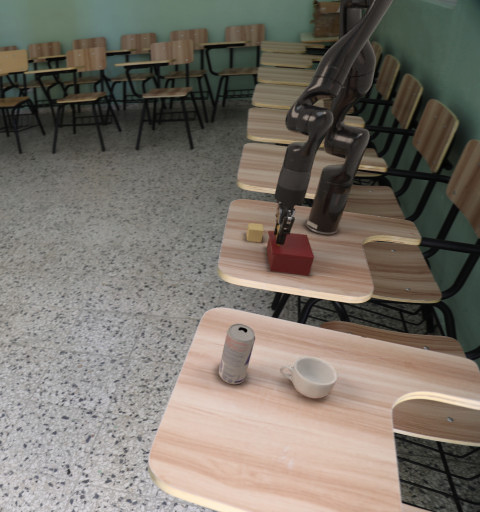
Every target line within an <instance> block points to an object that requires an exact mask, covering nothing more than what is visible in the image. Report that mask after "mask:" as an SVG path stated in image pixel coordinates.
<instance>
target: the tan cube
mask: <svg viewBox="0 0 480 512" xmlns="http://www.w3.org/2000/svg"><path fill="white" fill-rule="evenodd" d="M246 229H247V230H246V234H245V235H246V241H247V242H254V243H262V242H263V241H262V240H263V236H264V232H265V231H264V224H263V223H254V222H253V223H252V222H248V224H247V228H246Z"/></svg>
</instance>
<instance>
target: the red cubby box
mask: <svg viewBox="0 0 480 512" xmlns="http://www.w3.org/2000/svg"><path fill="white" fill-rule="evenodd" d="M267 240H268V241H267V244H266V254H267V259H268V265H269V270H270V272H275V273H284V274H293V275H298V276H299V275H301V276H309V275H310V272H311V269H312V265H313V263H314V259H305V258H297V257H288V256H280V255H272V251H271V245H270V240H269V239H267Z"/></svg>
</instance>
